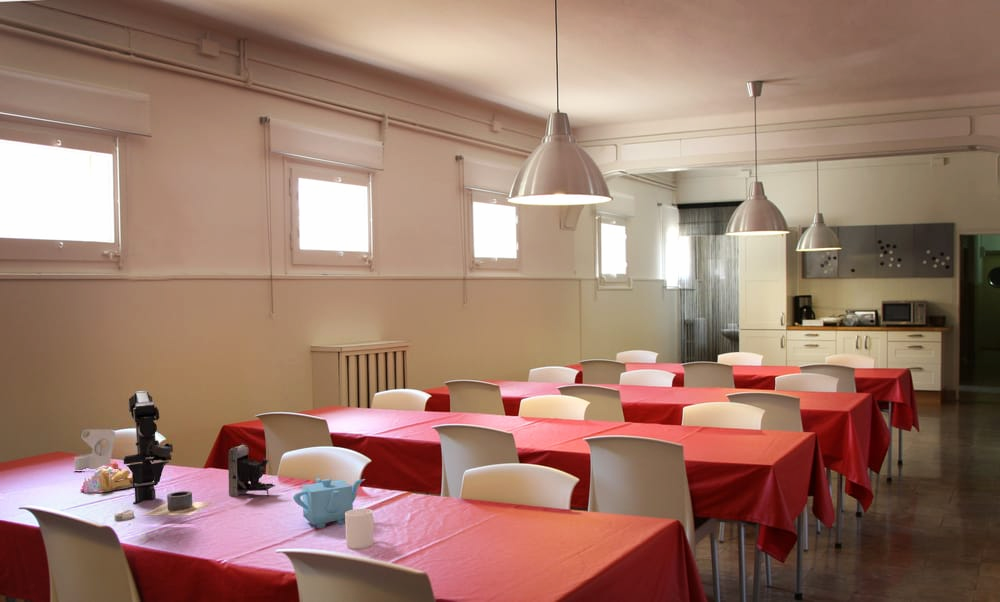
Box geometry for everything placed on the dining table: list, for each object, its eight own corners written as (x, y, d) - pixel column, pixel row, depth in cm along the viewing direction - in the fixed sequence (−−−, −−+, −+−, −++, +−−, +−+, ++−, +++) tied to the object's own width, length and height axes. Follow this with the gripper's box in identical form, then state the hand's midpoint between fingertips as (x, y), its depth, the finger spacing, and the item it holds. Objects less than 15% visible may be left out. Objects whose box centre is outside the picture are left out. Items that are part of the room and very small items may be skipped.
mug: (362, 536, 267) (361, 504, 267) (385, 539, 264) (383, 506, 264) (340, 548, 256) (339, 514, 256) (363, 550, 253) (362, 516, 253)
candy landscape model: (152, 484, 356) (151, 462, 356) (100, 496, 336) (99, 473, 336) (117, 478, 369) (116, 457, 369) (65, 490, 349) (64, 468, 349)
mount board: (142, 518, 299) (142, 515, 299) (167, 505, 317) (167, 502, 317) (190, 518, 297) (190, 515, 297) (213, 505, 315) (213, 501, 315)
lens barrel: (163, 510, 304) (162, 497, 304) (174, 504, 313) (174, 491, 312) (185, 510, 303) (184, 496, 303) (196, 504, 312) (195, 491, 311)
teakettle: (290, 528, 279) (288, 484, 279) (318, 513, 297) (316, 472, 297) (341, 531, 274) (339, 487, 274) (367, 516, 292) (365, 474, 292)
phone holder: (71, 471, 386) (70, 432, 386) (86, 467, 396) (84, 428, 396) (106, 471, 383) (104, 432, 383) (119, 467, 393) (118, 428, 393)
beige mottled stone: (109, 524, 293) (109, 515, 293) (121, 518, 301) (121, 510, 301) (127, 524, 293) (126, 515, 292) (138, 518, 300) (138, 509, 300)
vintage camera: (264, 501, 320) (264, 448, 320) (227, 498, 323) (227, 447, 323) (276, 495, 330) (276, 444, 329) (240, 493, 333) (240, 443, 332)
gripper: (148, 436, 289) (151, 482, 286) (182, 435, 307) (185, 478, 304) (121, 440, 292) (123, 486, 289) (156, 439, 310) (159, 482, 307)
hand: (149, 483), depth 297 cm, fingers open, 9 cm apart
